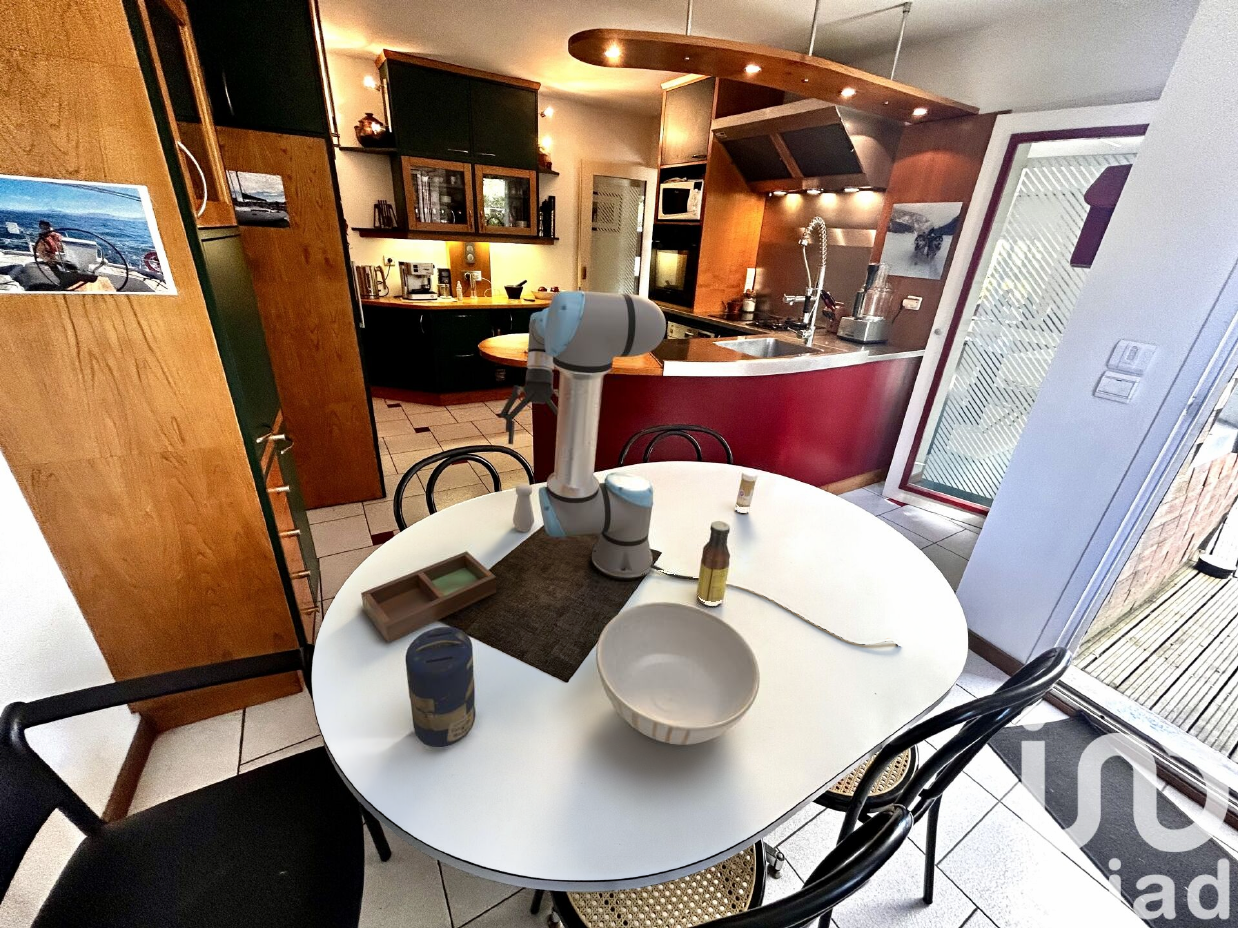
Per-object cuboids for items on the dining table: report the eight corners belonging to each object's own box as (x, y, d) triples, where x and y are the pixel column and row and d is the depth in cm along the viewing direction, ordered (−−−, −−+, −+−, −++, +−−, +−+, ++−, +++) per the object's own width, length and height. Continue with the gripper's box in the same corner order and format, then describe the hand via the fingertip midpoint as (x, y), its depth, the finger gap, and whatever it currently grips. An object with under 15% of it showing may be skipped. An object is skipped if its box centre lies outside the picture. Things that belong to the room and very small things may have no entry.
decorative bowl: (630, 811, 70) (639, 755, 65) (571, 669, 92) (574, 619, 87) (778, 750, 80) (796, 697, 75) (693, 635, 102) (702, 589, 97)
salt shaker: (529, 535, 131) (530, 492, 126) (509, 531, 132) (509, 488, 126) (537, 524, 136) (538, 482, 131) (517, 520, 137) (517, 479, 132)
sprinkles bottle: (731, 510, 153) (739, 472, 147) (738, 505, 156) (746, 467, 150) (745, 516, 150) (754, 477, 145) (751, 511, 153) (760, 472, 148)
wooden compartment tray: (496, 592, 109) (495, 576, 108) (388, 643, 93) (386, 626, 92) (467, 565, 117) (466, 550, 115) (363, 609, 101) (360, 592, 99)
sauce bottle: (725, 596, 115) (741, 523, 106) (718, 612, 109) (734, 536, 101) (698, 586, 117) (712, 515, 109) (690, 602, 112) (704, 527, 104)
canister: (423, 699, 83) (414, 617, 76) (481, 699, 84) (477, 617, 77) (406, 753, 74) (393, 666, 67) (470, 752, 75) (464, 666, 68)
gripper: (585, 375, 140) (580, 449, 140) (499, 370, 141) (494, 443, 141) (583, 370, 133) (577, 448, 133) (492, 364, 133) (486, 442, 133)
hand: (534, 446), depth 137 cm, fingers open, 13 cm apart
